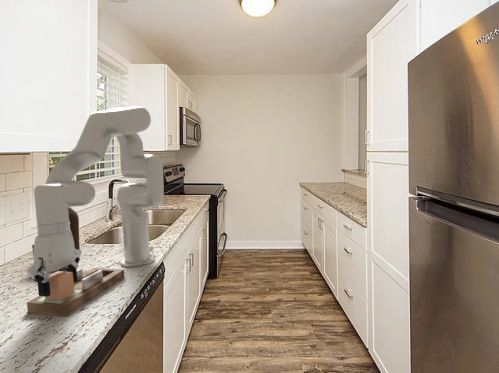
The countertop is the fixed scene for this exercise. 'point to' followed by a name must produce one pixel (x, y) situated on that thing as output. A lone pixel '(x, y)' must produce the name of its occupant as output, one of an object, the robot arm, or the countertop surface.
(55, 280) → the block
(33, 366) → the countertop surface
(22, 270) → the countertop surface
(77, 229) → the olive oil
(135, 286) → the countertop surface
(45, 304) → the track
